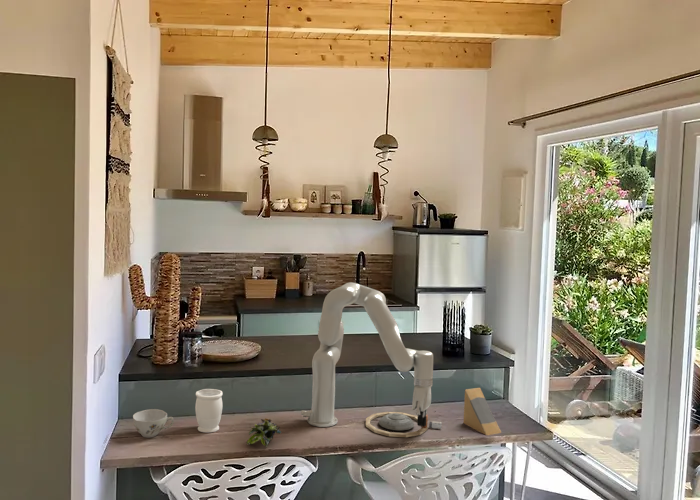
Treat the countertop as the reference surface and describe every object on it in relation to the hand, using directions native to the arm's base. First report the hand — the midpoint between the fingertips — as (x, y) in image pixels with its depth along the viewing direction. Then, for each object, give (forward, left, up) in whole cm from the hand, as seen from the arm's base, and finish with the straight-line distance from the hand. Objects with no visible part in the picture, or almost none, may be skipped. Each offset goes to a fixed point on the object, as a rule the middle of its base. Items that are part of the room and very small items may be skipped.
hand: (421, 425), depth 246 cm
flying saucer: (-10, +6, -4) cm, 12 cm away
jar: (-85, -11, -3) cm, 86 cm away
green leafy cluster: (-60, -22, -3) cm, 64 cm away
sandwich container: (+26, +10, -3) cm, 28 cm away
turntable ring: (-10, +6, -3) cm, 12 cm away
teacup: (-104, -20, -3) cm, 106 cm away
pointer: (+7, +6, -3) cm, 9 cm away
